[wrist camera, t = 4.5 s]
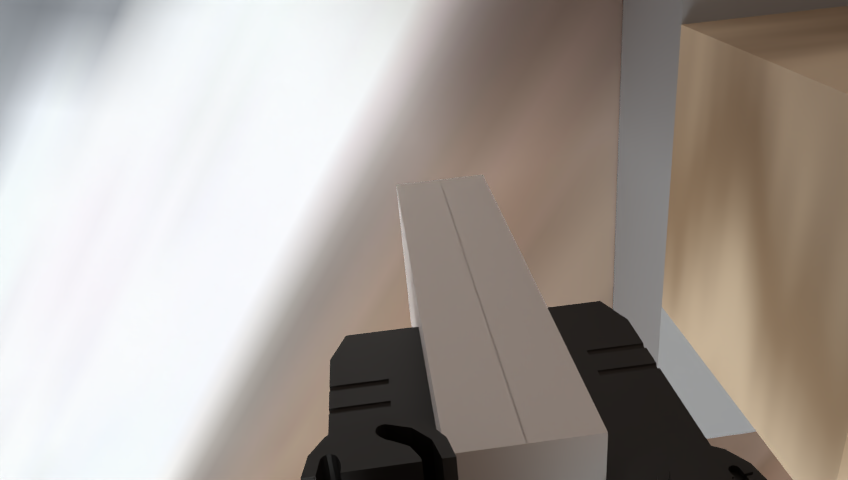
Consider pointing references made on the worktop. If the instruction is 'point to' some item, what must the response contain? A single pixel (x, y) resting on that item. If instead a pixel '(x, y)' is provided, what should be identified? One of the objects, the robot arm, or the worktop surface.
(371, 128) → the worktop surface
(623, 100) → the grey tray
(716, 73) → the block
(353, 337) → the robot arm
